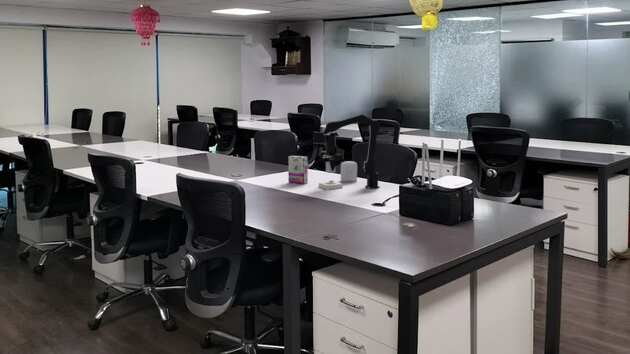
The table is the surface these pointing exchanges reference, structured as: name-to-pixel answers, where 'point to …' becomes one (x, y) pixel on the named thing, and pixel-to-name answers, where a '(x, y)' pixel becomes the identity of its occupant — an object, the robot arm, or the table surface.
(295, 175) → the candy bar box
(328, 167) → the plug
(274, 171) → the table surface
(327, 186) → the socket plate
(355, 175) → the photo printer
